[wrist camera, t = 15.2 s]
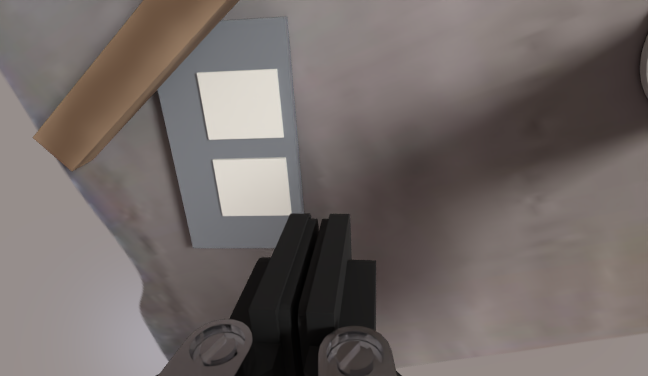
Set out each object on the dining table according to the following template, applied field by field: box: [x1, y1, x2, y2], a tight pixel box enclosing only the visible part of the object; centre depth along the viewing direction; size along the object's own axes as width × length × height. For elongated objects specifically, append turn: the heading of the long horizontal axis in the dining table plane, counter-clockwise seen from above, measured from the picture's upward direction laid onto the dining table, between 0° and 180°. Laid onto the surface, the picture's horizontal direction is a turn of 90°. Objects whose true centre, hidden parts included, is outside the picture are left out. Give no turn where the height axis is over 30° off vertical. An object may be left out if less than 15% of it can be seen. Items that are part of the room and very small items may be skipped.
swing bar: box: [33, 0, 239, 171], centre depth 31 cm, size 4×24×3 cm, turn 132°
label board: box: [157, 17, 304, 248], centre depth 38 cm, size 12×22×2 cm, turn 3°
